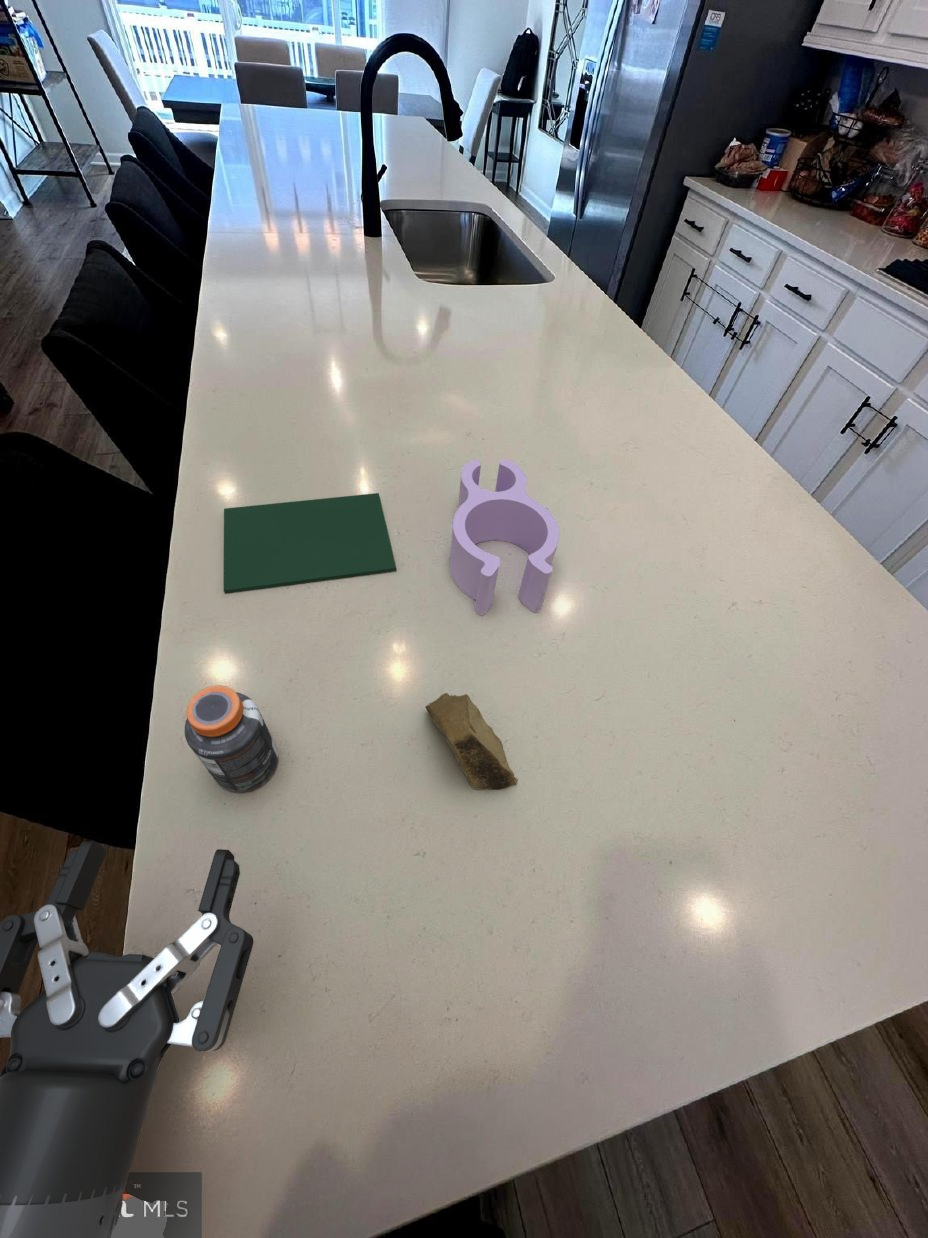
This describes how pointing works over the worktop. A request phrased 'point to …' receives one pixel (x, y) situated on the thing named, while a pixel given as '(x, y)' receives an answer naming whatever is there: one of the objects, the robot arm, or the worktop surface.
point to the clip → (500, 535)
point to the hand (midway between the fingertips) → (160, 848)
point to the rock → (472, 742)
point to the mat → (305, 542)
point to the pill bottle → (230, 738)
